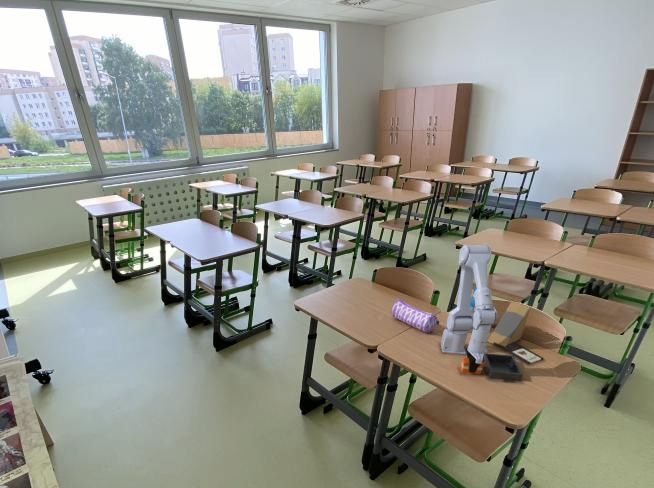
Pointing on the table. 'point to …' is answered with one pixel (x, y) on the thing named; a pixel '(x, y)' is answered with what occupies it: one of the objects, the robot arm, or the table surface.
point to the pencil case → (414, 316)
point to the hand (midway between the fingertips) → (470, 369)
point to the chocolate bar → (520, 352)
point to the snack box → (466, 367)
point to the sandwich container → (510, 325)
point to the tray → (502, 367)
